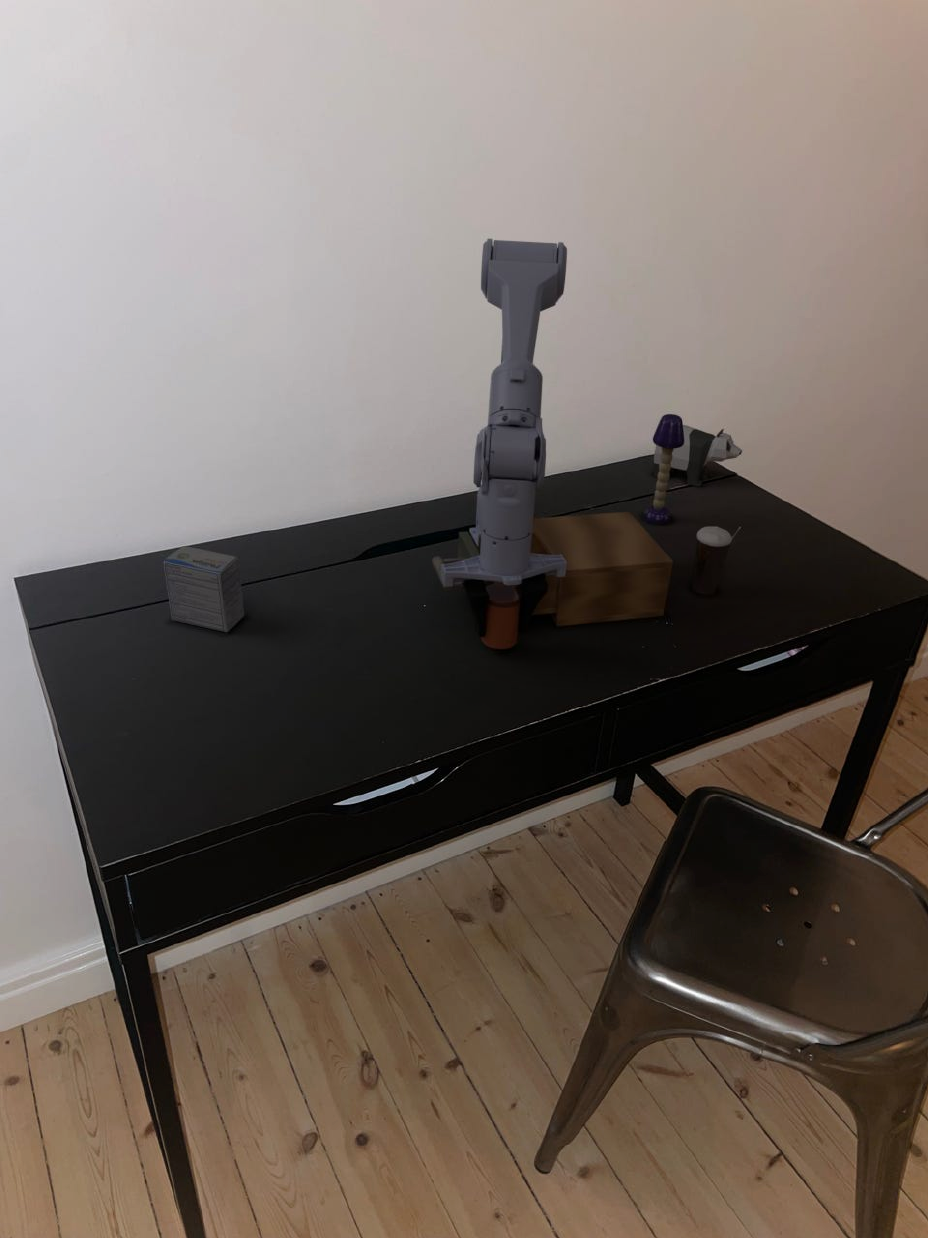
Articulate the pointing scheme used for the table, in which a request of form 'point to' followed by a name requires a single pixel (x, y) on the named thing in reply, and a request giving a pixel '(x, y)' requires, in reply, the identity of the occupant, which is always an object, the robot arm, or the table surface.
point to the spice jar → (502, 616)
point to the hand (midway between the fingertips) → (499, 630)
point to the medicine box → (204, 588)
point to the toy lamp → (665, 464)
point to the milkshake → (710, 558)
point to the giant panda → (698, 453)
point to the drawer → (469, 550)
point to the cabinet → (605, 568)
